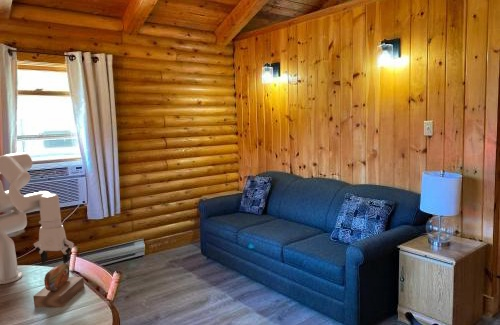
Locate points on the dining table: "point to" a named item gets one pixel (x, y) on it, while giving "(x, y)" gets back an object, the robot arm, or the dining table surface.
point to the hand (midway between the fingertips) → (55, 261)
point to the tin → (56, 277)
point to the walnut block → (59, 294)
